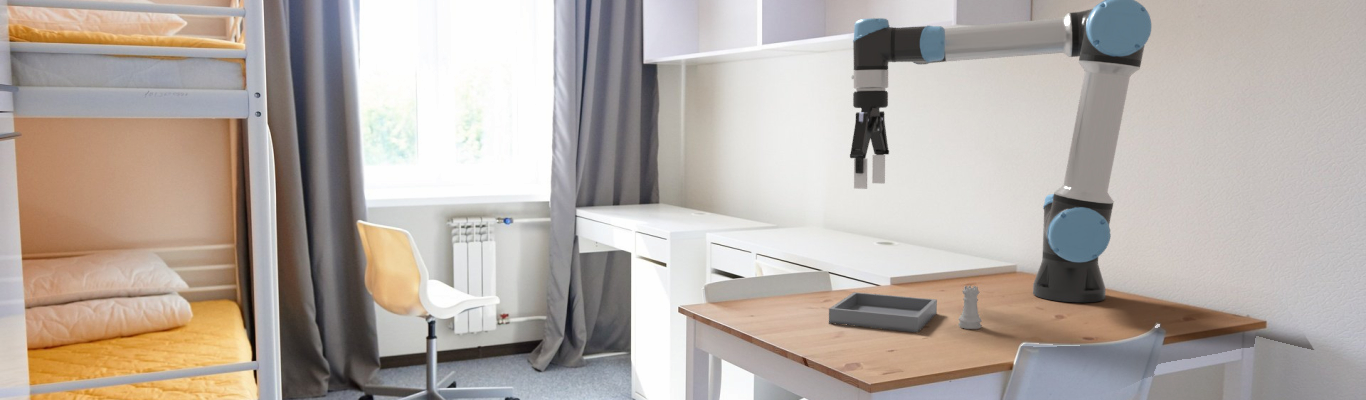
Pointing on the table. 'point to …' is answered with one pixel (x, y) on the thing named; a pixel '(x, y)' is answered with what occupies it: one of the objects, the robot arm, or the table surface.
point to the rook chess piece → (970, 309)
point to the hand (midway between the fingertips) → (869, 186)
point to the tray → (884, 311)
